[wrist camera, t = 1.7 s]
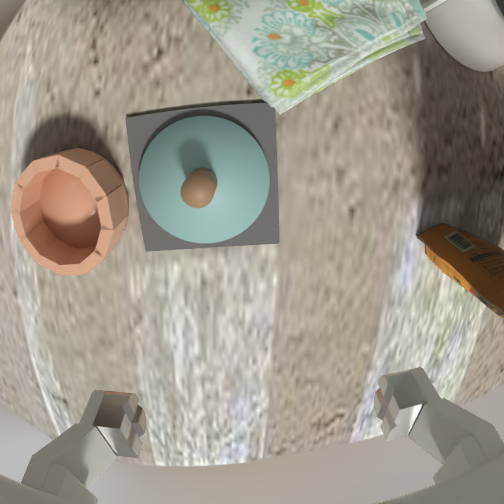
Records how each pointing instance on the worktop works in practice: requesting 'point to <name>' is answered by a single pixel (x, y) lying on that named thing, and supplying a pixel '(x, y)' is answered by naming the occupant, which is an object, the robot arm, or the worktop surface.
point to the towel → (306, 40)
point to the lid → (204, 179)
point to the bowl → (70, 210)
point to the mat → (245, 115)
